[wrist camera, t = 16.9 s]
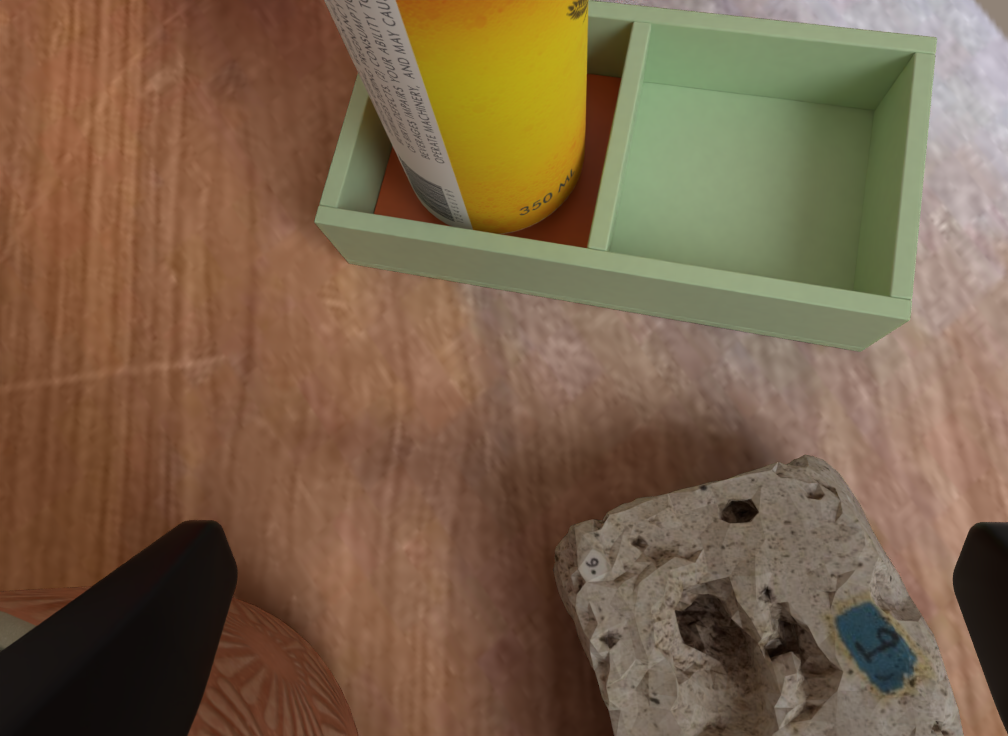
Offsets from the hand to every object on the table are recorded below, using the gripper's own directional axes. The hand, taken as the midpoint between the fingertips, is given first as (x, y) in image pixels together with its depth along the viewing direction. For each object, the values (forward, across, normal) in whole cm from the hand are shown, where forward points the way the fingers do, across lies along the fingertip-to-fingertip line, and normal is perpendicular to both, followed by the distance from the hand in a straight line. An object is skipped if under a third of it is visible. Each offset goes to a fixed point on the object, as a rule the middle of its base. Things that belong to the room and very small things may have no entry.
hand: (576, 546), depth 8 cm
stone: (+7, -4, +13) cm, 15 cm away
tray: (+18, -2, +1) cm, 18 cm away
